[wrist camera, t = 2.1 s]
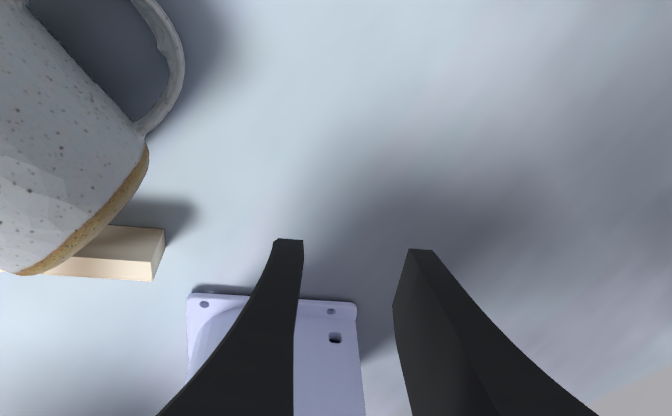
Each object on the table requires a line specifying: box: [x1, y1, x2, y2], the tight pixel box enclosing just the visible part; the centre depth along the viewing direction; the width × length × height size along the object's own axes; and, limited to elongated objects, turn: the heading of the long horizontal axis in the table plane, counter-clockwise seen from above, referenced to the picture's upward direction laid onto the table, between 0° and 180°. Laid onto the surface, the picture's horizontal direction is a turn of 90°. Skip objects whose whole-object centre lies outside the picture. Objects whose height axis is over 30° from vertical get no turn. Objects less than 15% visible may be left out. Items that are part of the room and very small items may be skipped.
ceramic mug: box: [0, 0, 185, 276], centre depth 16 cm, size 11×8×8 cm
